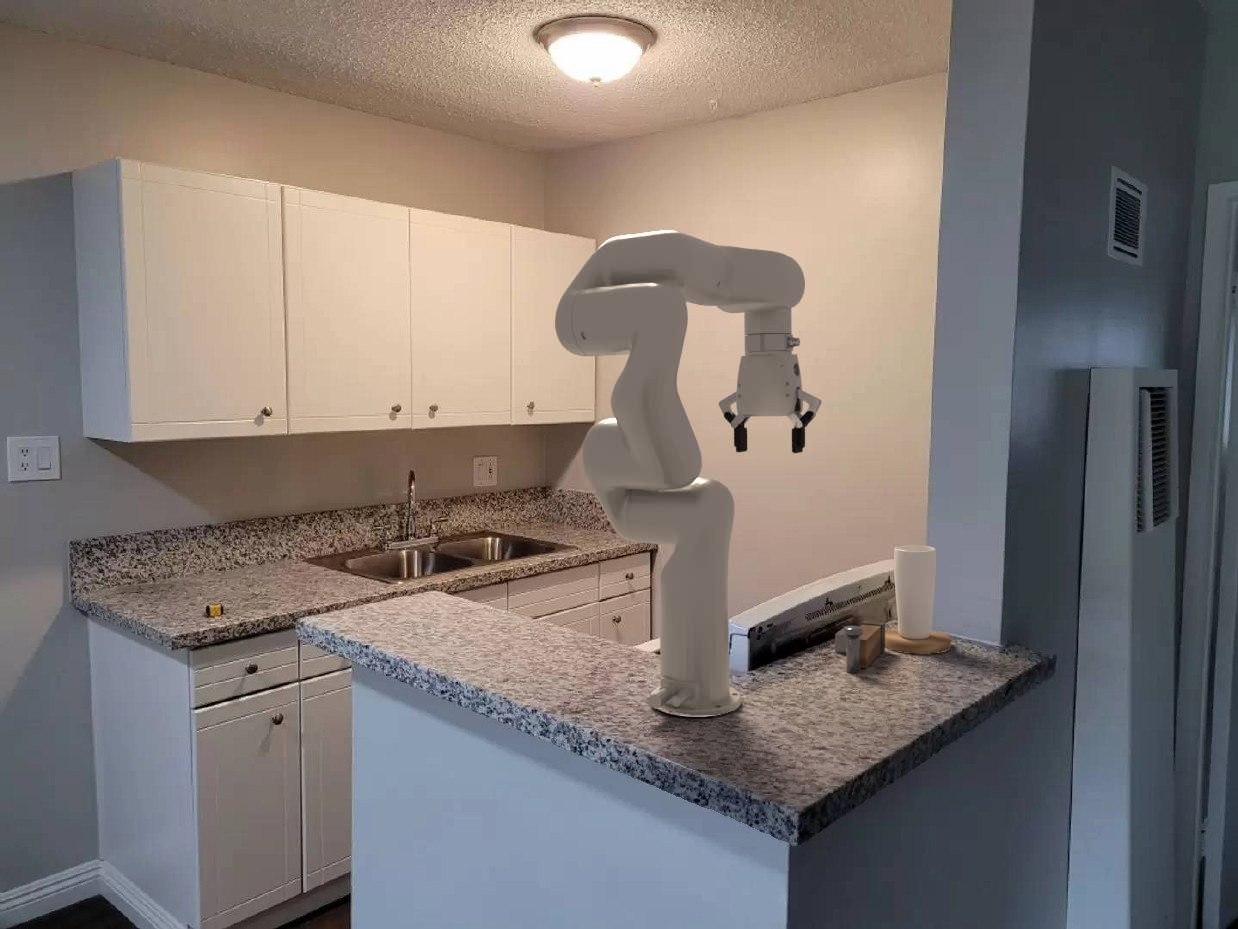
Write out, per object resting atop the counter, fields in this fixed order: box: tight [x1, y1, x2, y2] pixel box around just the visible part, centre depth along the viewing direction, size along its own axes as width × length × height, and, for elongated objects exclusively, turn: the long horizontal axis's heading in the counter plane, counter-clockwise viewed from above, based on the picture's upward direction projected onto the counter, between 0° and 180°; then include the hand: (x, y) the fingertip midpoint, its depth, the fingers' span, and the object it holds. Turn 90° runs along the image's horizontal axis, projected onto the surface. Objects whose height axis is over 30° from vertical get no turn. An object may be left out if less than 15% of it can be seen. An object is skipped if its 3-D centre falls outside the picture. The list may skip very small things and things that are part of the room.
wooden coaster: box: [885, 627, 952, 655], centre depth 151 cm, size 11×11×2 cm
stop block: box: [834, 628, 846, 654], centre depth 149 cm, size 4×2×3 cm, turn 149°
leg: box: [859, 619, 886, 669], centre depth 143 cm, size 3×11×5 cm, turn 150°
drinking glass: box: [893, 544, 937, 639], centre depth 150 cm, size 7×7×15 cm
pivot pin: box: [843, 625, 863, 674], centre depth 137 cm, size 3×3×7 cm
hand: (769, 452), depth 146 cm, fingers open, 9 cm apart
